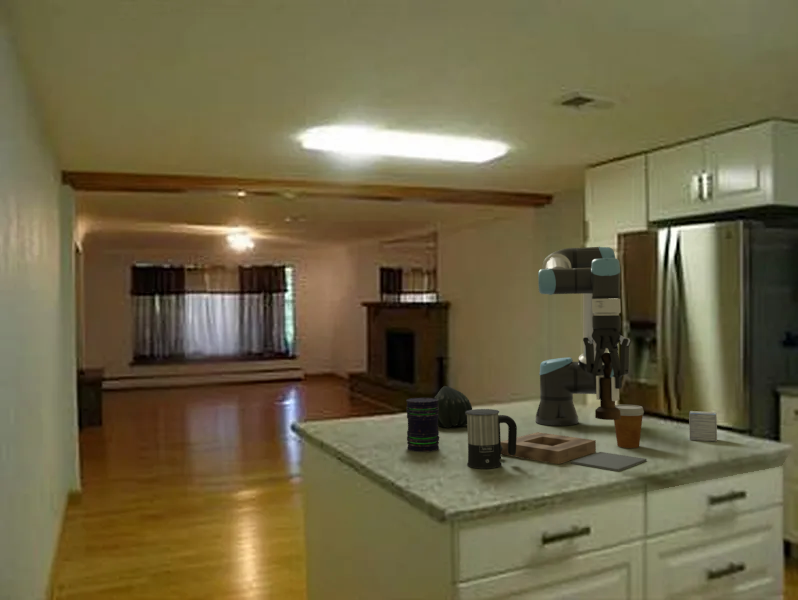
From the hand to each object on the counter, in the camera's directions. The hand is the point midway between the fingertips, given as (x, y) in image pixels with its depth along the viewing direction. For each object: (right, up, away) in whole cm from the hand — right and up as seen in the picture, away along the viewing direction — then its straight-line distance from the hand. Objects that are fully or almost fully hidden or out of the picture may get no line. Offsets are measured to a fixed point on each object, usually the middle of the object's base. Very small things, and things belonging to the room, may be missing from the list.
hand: (607, 399), depth 194 cm
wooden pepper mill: (0, -5, 0) cm, 5 cm away
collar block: (-14, -17, +13) cm, 26 cm away
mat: (0, -17, 0) cm, 17 cm away
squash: (-39, -18, +60) cm, 74 cm away
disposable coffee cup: (+12, -17, +21) cm, 30 cm away
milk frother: (-33, -18, +3) cm, 38 cm away
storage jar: (-50, -18, +22) cm, 58 cm away
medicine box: (+38, -17, +28) cm, 51 cm away
